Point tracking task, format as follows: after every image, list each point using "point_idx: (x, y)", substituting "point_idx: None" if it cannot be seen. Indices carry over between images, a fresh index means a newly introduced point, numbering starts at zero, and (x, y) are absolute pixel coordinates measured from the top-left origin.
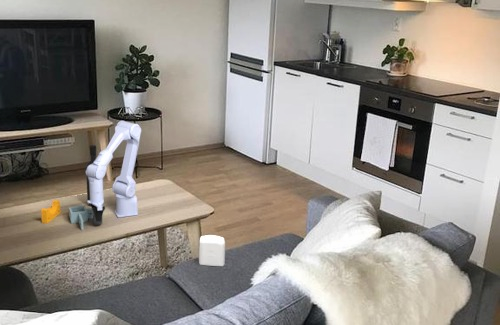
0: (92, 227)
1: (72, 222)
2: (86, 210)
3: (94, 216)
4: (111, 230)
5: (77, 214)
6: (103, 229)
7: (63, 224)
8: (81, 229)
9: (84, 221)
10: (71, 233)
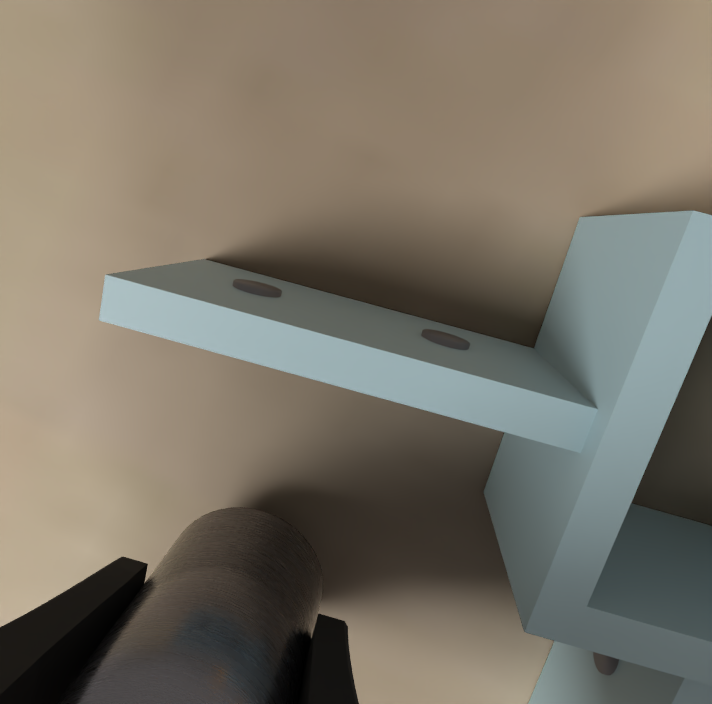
0: (226, 449)
1: (580, 238)
2: (593, 637)
3: (136, 618)
4: (4, 610)
5: (596, 378)
6: (82, 544)
7: (644, 62)
8: (227, 266)
9: (502, 442)
10: (171, 47)
